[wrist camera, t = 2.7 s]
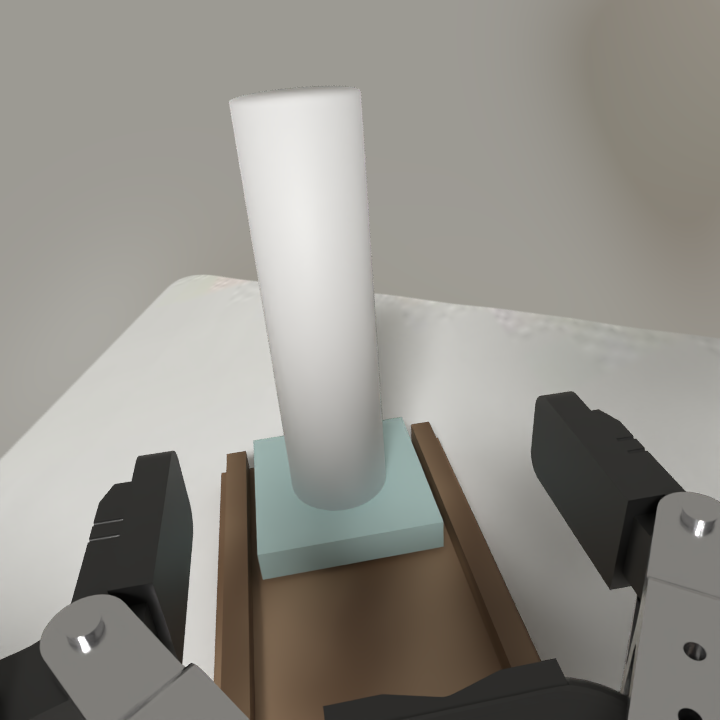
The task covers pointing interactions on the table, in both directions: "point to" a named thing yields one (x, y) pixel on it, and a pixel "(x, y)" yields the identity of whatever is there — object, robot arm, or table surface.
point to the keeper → (323, 343)
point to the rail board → (360, 611)
